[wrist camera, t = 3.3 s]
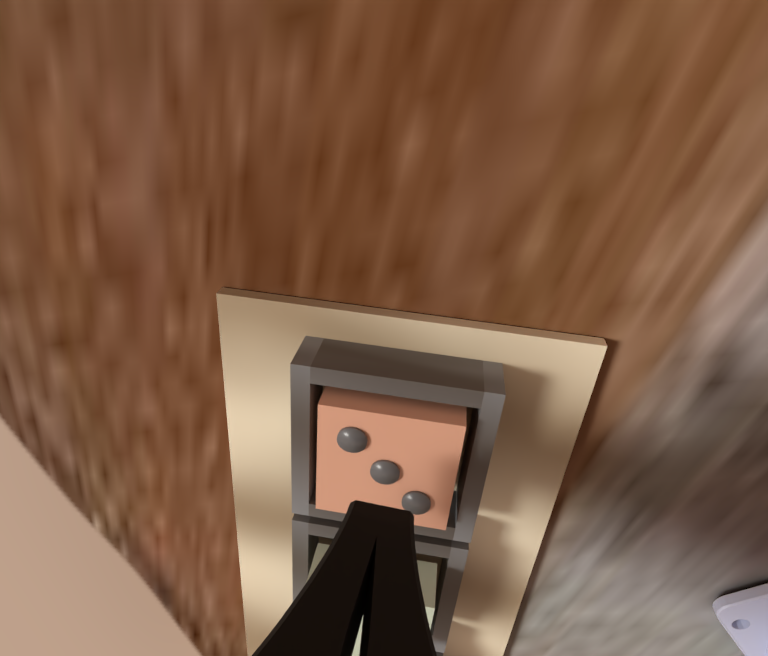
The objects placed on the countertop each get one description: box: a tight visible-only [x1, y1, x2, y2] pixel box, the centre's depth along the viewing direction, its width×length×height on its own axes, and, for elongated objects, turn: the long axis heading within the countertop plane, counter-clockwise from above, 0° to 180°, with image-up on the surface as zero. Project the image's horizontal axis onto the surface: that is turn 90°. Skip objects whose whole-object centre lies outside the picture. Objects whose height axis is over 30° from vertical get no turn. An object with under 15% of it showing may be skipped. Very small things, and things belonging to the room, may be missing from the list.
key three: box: [316, 386, 466, 530], centre depth 14 cm, size 4×4×2 cm
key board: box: [216, 287, 607, 656], centre depth 17 cm, size 18×10×2 cm, turn 175°
